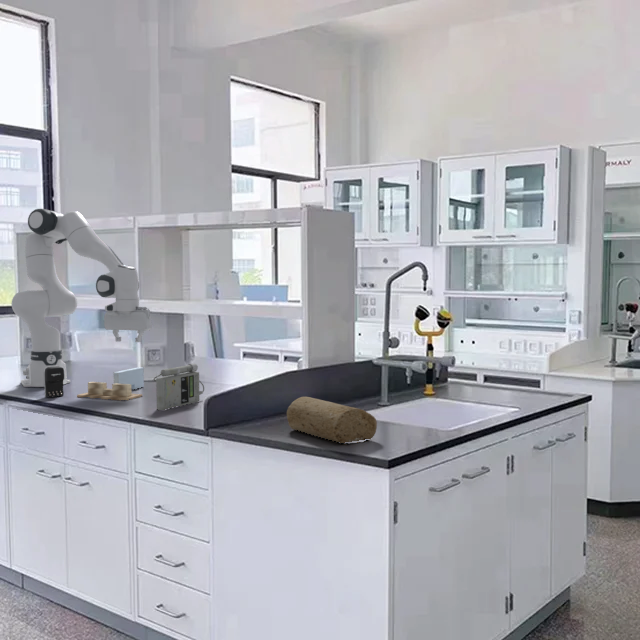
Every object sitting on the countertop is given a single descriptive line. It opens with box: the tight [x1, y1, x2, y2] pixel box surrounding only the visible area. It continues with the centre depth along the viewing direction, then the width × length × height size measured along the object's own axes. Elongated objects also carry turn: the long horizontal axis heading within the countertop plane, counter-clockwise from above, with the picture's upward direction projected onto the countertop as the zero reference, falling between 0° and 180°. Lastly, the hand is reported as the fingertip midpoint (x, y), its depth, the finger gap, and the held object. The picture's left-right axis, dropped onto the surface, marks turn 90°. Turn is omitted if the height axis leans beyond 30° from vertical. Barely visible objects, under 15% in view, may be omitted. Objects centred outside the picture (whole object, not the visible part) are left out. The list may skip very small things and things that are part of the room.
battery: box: [43, 366, 65, 398], centre depth 279 cm, size 7×4×11 cm, turn 132°
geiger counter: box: [153, 362, 205, 411], centre depth 262 cm, size 14×6×25 cm
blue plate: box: [112, 366, 145, 390], centre depth 294 cm, size 16×2×8 cm, turn 158°
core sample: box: [286, 396, 378, 444], centre depth 212 cm, size 14×26×10 cm, turn 37°
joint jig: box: [76, 381, 143, 401], centre depth 279 cm, size 22×10×5 cm, turn 68°
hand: (128, 341), depth 293 cm, fingers open, 8 cm apart
